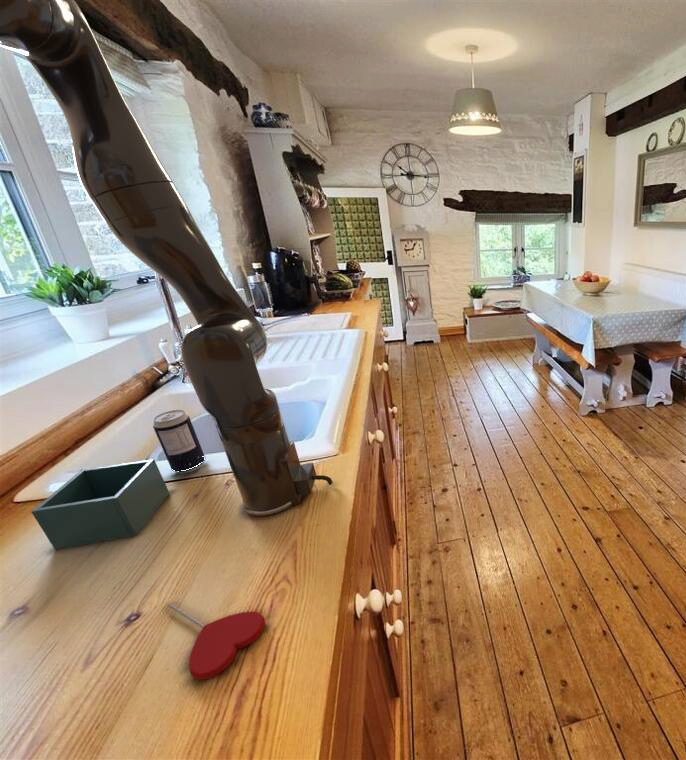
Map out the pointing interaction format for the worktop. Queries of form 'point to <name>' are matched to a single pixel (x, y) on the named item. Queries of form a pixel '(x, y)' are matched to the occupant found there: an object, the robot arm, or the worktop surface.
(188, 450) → the beverage can
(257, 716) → the worktop surface
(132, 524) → the bin
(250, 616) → the lollipop
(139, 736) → the worktop surface
